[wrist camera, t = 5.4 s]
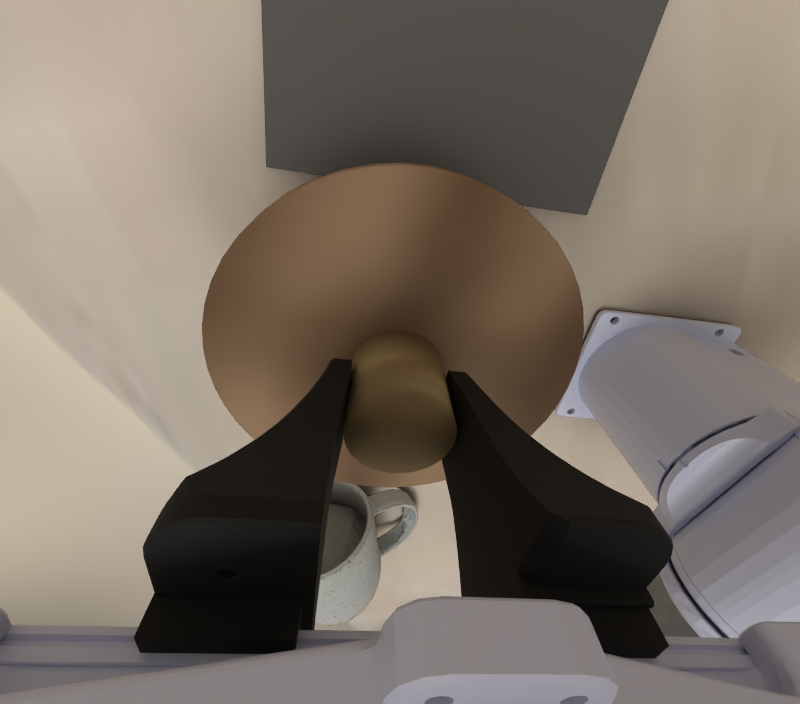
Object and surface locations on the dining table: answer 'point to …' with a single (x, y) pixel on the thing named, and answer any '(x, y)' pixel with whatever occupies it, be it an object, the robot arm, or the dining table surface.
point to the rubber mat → (456, 88)
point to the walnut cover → (393, 312)
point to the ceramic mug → (357, 549)
